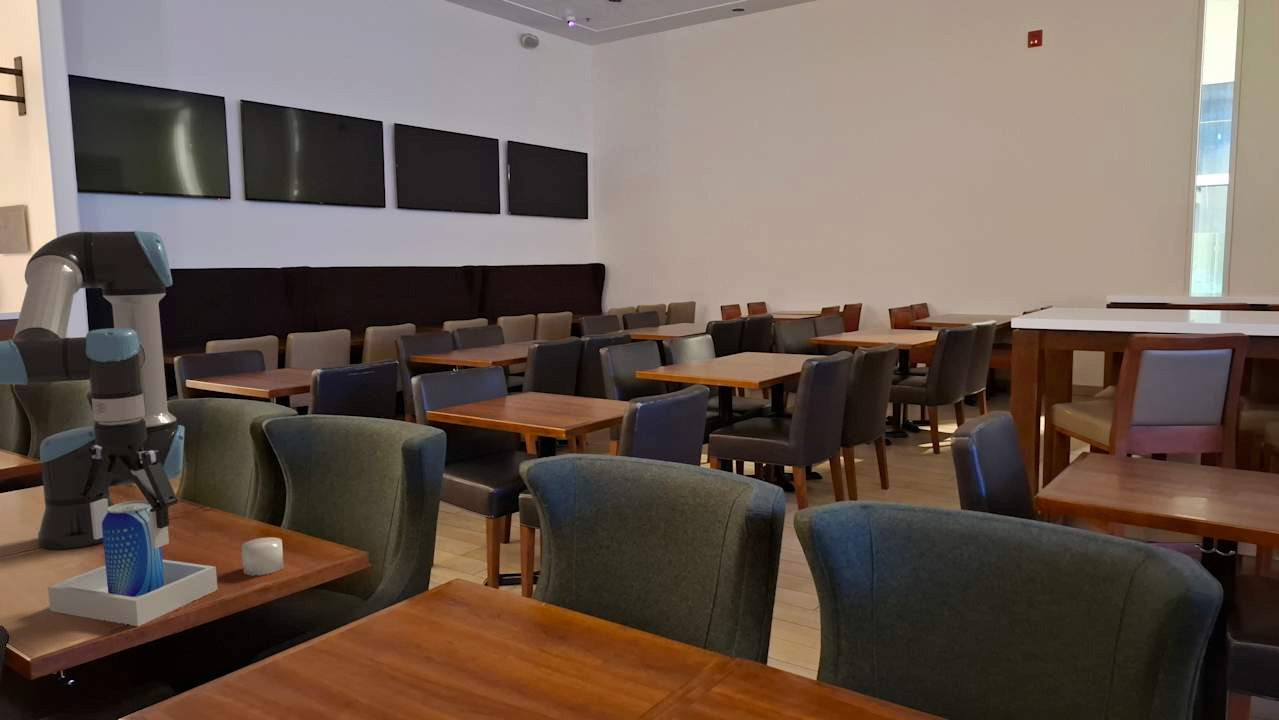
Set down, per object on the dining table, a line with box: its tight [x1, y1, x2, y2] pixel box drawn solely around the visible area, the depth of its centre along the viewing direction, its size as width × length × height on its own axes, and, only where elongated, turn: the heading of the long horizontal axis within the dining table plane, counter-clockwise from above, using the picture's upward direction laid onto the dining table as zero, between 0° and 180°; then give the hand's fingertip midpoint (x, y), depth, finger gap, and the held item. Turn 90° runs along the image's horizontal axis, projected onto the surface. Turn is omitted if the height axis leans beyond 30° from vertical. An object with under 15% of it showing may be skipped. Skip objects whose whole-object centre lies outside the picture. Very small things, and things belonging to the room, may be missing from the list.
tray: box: [47, 558, 218, 627], centre depth 150 cm, size 20×16×4 cm
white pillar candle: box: [241, 536, 285, 576], centre depth 164 cm, size 7×7×5 cm
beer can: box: [102, 500, 164, 598], centre depth 149 cm, size 8×8×16 cm
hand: (131, 541), depth 149 cm, fingers open, 13 cm apart
